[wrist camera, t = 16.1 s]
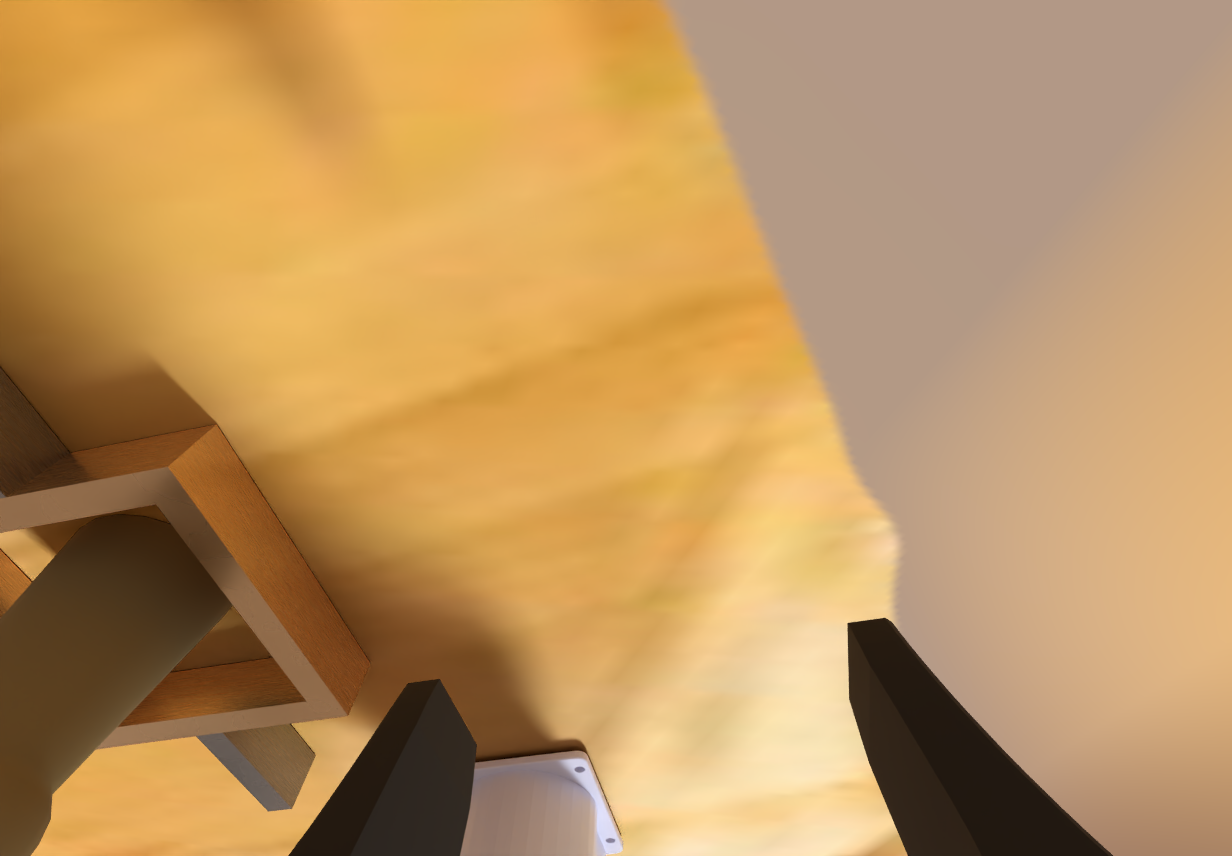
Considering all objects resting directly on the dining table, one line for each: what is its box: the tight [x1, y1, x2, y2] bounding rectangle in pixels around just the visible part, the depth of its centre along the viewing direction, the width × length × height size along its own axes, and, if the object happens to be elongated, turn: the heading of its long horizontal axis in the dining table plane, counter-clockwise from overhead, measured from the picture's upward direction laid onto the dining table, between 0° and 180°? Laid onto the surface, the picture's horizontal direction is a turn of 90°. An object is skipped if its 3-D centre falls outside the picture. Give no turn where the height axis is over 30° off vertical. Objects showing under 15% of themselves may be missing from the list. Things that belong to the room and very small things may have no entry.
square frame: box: [0, 368, 370, 811], centre depth 23 cm, size 24×12×2 cm, turn 12°
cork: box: [0, 514, 232, 856], centre depth 19 cm, size 6×6×11 cm
